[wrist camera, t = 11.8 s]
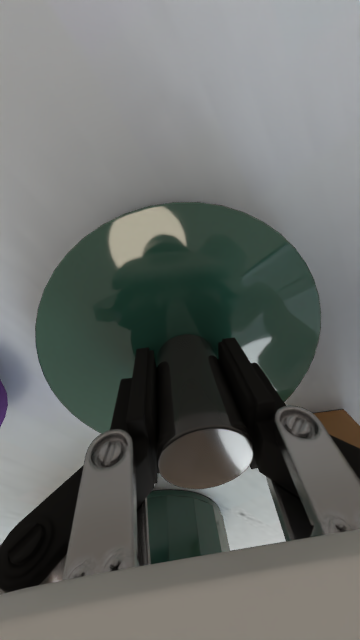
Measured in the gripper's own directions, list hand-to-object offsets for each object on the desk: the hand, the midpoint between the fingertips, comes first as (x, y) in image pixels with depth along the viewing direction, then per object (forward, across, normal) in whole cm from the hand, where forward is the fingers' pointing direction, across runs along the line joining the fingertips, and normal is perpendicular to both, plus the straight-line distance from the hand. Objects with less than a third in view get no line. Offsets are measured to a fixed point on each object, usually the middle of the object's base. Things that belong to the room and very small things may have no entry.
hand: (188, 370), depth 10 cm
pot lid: (+2, 0, 0) cm, 2 cm away
